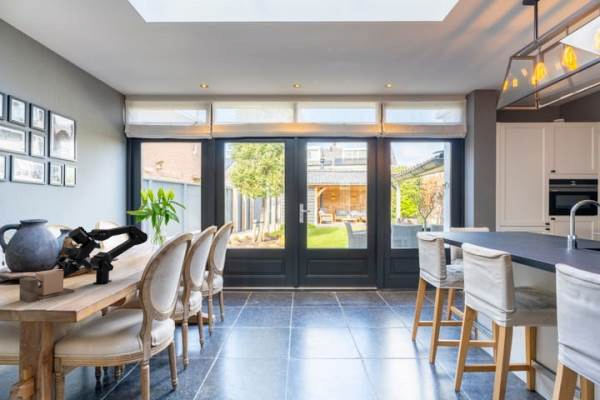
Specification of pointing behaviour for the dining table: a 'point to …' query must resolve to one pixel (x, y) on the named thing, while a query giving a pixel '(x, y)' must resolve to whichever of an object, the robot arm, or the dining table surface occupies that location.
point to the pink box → (50, 281)
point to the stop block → (36, 291)
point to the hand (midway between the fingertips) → (60, 278)
